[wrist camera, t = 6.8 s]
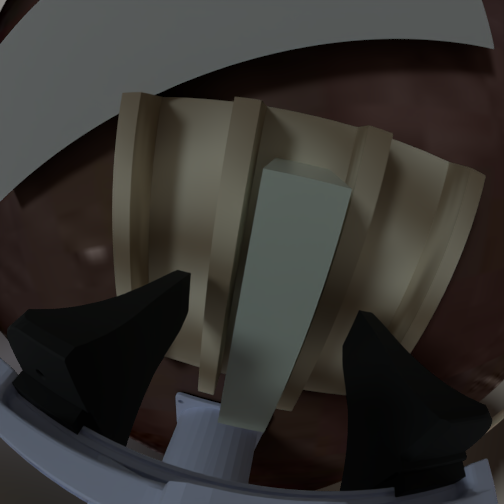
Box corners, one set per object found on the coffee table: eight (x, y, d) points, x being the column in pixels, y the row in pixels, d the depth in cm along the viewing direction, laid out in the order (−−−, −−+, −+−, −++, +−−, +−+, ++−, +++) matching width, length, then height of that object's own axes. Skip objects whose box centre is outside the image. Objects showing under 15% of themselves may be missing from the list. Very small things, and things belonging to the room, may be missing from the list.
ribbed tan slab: (363, 386, 17) (368, 418, 15) (140, 337, 19) (121, 363, 16) (460, 169, 11) (492, 179, 8) (146, 98, 12) (113, 93, 9)
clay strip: (273, 366, 16) (263, 432, 12) (236, 358, 16) (217, 422, 12) (329, 169, 11) (351, 189, 7) (275, 157, 12) (263, 168, 7)
